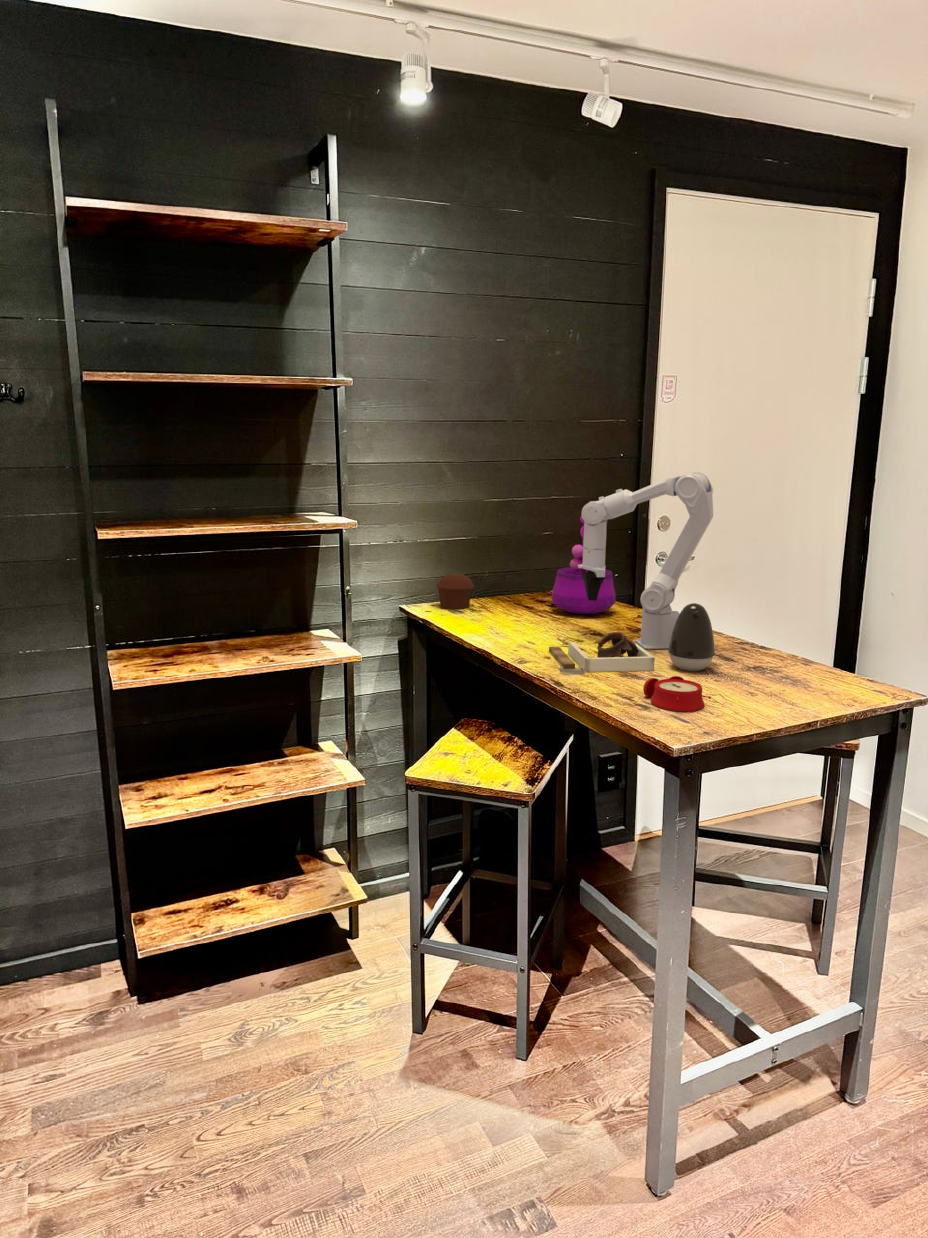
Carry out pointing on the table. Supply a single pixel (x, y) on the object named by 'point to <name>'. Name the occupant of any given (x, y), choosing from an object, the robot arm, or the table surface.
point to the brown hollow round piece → (617, 646)
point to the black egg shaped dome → (692, 639)
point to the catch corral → (612, 661)
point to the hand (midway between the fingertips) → (592, 600)
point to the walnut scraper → (564, 662)
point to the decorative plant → (580, 587)
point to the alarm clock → (675, 694)
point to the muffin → (455, 591)
